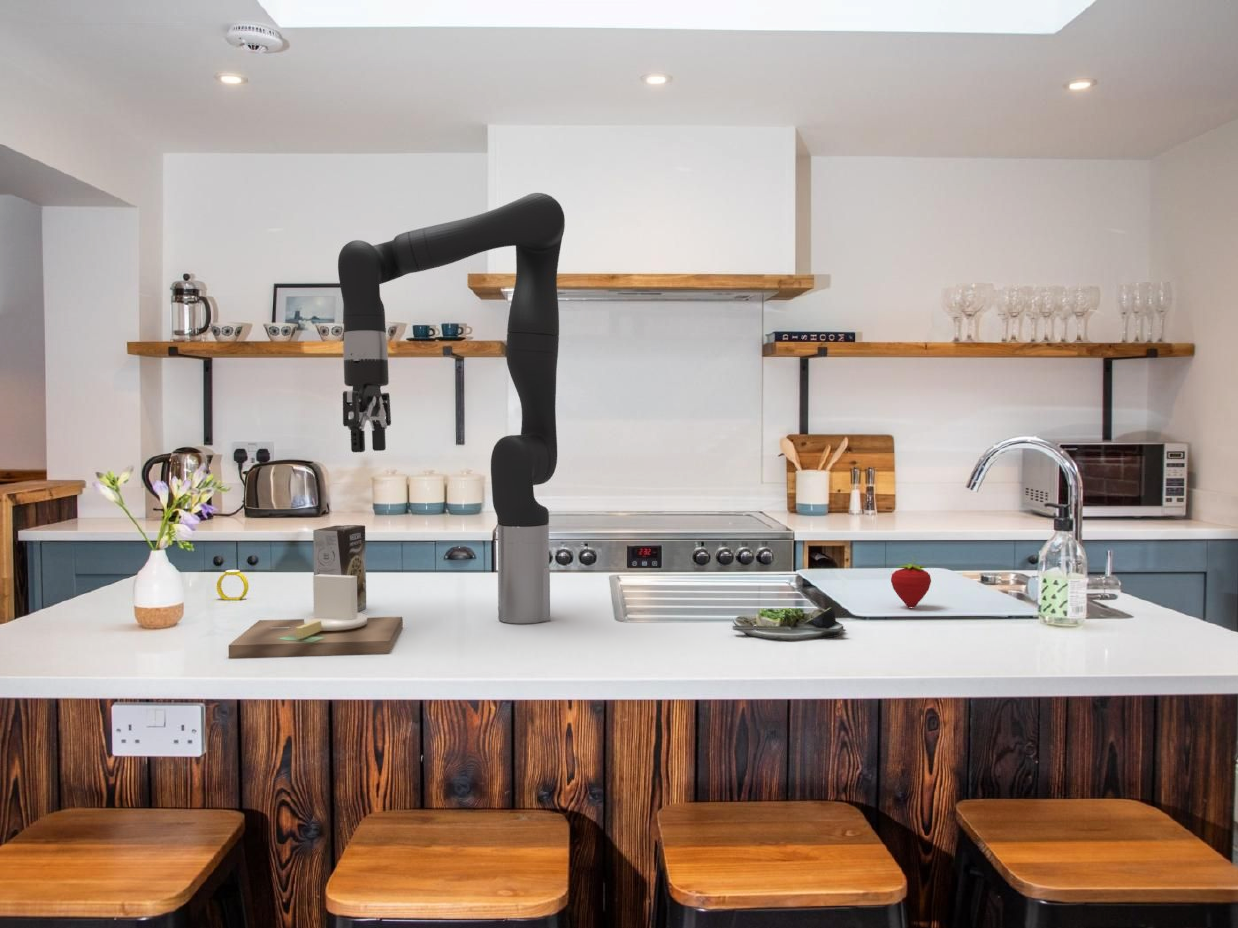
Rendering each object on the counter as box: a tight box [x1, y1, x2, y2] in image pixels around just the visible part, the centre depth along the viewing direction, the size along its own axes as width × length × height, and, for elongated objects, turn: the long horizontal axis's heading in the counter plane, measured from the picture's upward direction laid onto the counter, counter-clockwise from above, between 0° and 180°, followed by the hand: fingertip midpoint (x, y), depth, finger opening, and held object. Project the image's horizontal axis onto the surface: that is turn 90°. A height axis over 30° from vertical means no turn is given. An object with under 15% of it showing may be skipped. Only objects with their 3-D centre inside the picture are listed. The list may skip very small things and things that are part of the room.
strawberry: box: [890, 554, 932, 608], centre depth 184 cm, size 6×8×10 cm
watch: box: [216, 569, 249, 601], centre depth 196 cm, size 6×3×6 cm, turn 87°
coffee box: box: [312, 524, 367, 613], centre depth 182 cm, size 9×6×16 cm
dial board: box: [228, 616, 404, 659], centre depth 159 cm, size 24×18×2 cm
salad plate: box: [732, 606, 847, 641], centre depth 166 cm, size 19×18×5 cm
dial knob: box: [296, 574, 368, 638], centre depth 158 cm, size 16×10×8 cm, turn 164°
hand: (368, 451), depth 171 cm, fingers open, 8 cm apart
